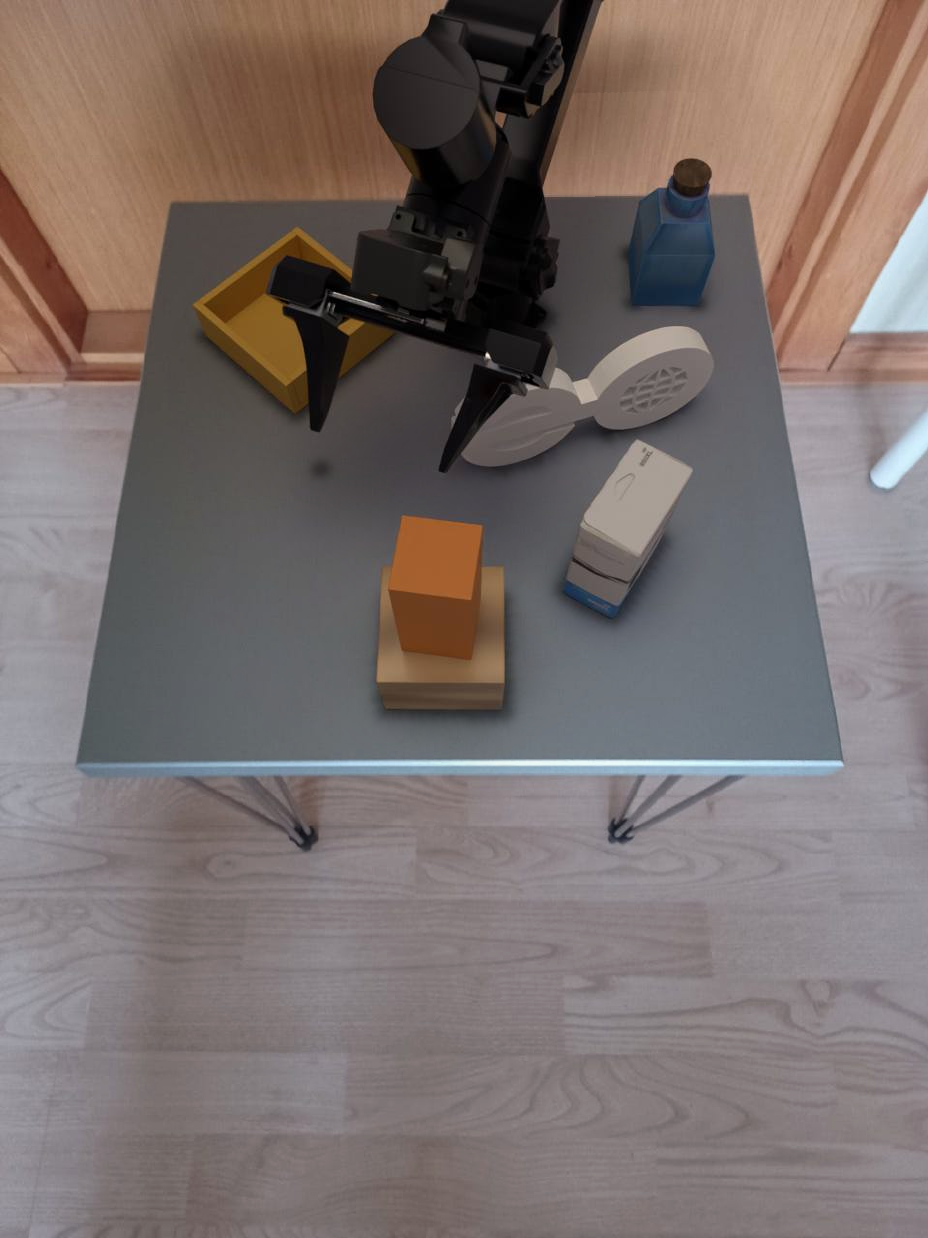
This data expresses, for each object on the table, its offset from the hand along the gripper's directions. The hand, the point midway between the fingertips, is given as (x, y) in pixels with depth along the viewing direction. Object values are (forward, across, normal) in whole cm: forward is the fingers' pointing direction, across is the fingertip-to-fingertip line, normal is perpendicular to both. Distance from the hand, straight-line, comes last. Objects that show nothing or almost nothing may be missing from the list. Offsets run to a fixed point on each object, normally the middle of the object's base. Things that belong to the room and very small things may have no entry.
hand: (377, 451), depth 58 cm
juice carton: (+10, +7, +3) cm, 13 cm away
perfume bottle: (-23, +13, +30) cm, 40 cm away
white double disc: (-6, +10, +21) cm, 24 cm away
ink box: (+3, +17, +16) cm, 23 cm away
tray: (-8, -17, +22) cm, 28 cm away
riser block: (+14, +7, +10) cm, 18 cm away
